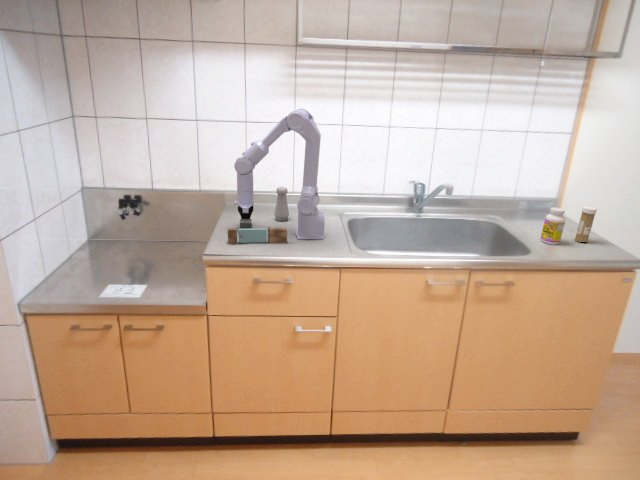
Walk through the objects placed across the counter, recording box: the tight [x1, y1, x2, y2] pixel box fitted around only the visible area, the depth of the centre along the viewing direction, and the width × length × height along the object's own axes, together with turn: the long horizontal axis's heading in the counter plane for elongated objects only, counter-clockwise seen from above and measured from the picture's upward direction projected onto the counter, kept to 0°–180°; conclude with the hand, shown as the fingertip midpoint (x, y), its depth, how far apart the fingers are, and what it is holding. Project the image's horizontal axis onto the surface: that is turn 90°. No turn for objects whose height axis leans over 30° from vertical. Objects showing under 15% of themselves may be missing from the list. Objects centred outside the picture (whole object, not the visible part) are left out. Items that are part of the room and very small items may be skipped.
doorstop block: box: [239, 218, 253, 229], centre depth 159 cm, size 4×4×6 cm
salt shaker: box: [273, 186, 290, 222], centre depth 176 cm, size 6×6×13 cm
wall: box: [227, 226, 288, 245], centre depth 154 cm, size 20×2×5 cm, turn 99°
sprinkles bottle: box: [574, 205, 598, 243], centre depth 168 cm, size 5×5×13 cm
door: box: [237, 227, 268, 244], centre depth 154 cm, size 10×2×5 cm, turn 99°
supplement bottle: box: [540, 206, 566, 246], centre depth 166 cm, size 7×7×13 cm
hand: (245, 225), depth 166 cm, fingers closed
